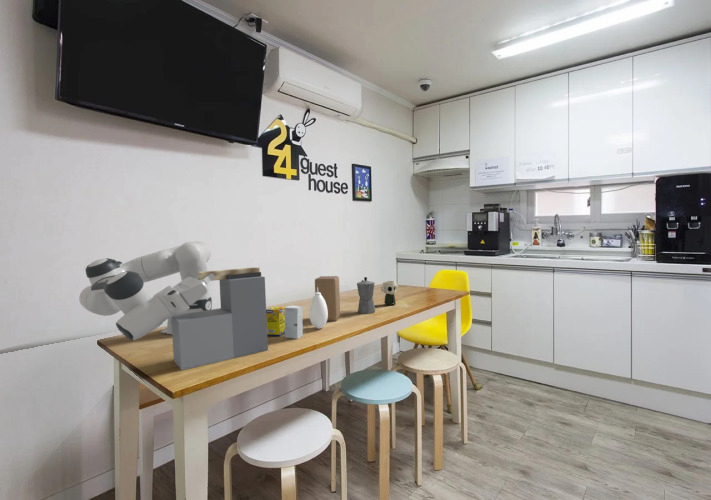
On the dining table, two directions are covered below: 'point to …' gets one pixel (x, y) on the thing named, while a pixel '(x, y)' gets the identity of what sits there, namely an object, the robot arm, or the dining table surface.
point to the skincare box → (293, 322)
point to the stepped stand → (224, 324)
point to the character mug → (389, 291)
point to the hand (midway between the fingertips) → (211, 274)
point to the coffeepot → (366, 296)
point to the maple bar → (226, 273)
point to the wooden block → (329, 294)
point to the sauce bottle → (318, 311)
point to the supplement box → (275, 321)
